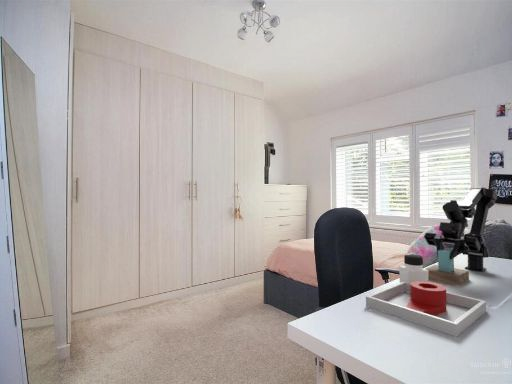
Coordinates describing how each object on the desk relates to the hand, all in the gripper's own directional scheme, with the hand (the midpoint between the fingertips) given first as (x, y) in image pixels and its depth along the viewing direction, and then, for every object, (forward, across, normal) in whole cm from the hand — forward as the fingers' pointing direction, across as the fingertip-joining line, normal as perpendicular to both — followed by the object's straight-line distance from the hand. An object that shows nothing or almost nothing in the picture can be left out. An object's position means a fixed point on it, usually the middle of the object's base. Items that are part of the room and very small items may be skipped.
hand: (444, 257), depth 114 cm
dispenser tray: (+31, +10, -18) cm, 37 cm away
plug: (+4, 0, +6) cm, 7 cm away
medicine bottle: (+19, -3, -6) cm, 20 cm away
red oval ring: (+33, +10, -20) cm, 40 cm away
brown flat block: (+5, 0, +7) cm, 9 cm away
